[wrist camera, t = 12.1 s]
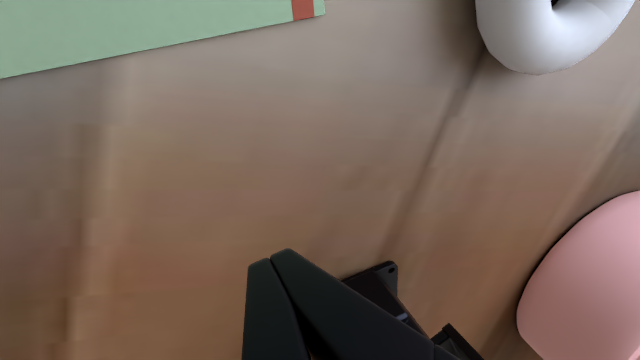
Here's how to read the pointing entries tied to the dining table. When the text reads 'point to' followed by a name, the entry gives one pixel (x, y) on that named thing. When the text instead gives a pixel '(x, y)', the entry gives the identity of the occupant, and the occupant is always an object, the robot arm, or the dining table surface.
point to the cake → (588, 289)
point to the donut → (546, 31)
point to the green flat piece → (125, 27)
